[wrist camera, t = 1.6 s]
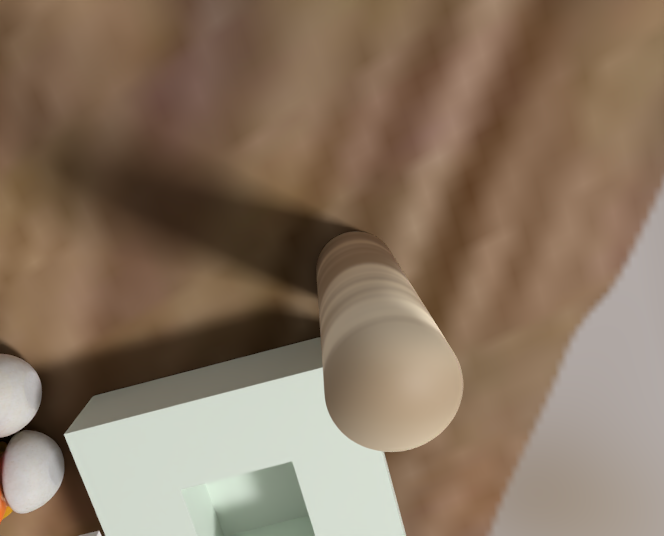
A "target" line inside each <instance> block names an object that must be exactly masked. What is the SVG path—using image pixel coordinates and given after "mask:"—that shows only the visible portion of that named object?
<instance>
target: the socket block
mask: <svg viewBox="0 0 664 536" xmlns="http://www.w3.org/2000/svg"><path fill="white" fill-rule="evenodd" d="M64 436H65V439H66V441H67V443H68V446H69V448H70V451H71V453H72V456H73V458H74V460H75V463H76V465H77V468H78V470H79V473H80V475H81V477H82V480H83V482H84V485H85V487H86V490H87V492H88V495H89V497H90V499H91V502H92V504H93V507H94V509H95V512H96V514H97V516H98V519H99V521H100V524H101V526H102V529H103V531H104V533H105V536H406V533H405V529H404V526H403V522H402V518H401V514H400V511H399V507H398V503H397V499H396V496H395V492H394V488H393V484H392V481H391V477H390V473H389V469H388V466H387V462H386V458H385V454H384V452H383V451H377V450H372V449H369V448H366V447H363V446H361V445H359V444H357V443H355V442H354V441H352V440H350V439H349V438H348V437H347V436H345V435H344V434H343V433H342V432H341V431H340V430H339V429H338V428H337V426H336V425H335V423H334V422H333V420H332V418H331V417H330V415H329V412H328V409H327V407H326V402H325V395H324V380H323V365H322V350H321V337H318V338H314V339H310V340H307V341H303V342H299V343H295V344H291V345H287V346H283V347H280V348H276V349H272V350H268V351H264V352H260V353H257V354H253V355H249V356H245V357H241V358H237V359H233V360H230V361H226V362H222V363H218V364H214V365H210V366H207V367H203V368H199V369H195V370H191V371H187V372H183V373H180V374H176V375H172V376H168V377H164V378H160V379H157V380H153V381H149V382H145V383H141V384H137V385H134V386H130V387H126V388H122V389H118V390H114V391H110V392H107V393H103V394H99V395H95V396H93V397H92V398H91V399H90V401H89V402H88V403H87V405H86V406H85V407H84V409H83V410H82V411H81V412H80V414H79V415H78V416H77V418H76V419H75V420H74V422H73V423H72V424H71V426H70V427H69V428H68V430H67V431H66V432H65V433H64Z"/></svg>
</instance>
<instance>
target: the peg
mask: <svg viewBox="0 0 664 536" xmlns="http://www.w3.org/2000/svg"><path fill="white" fill-rule="evenodd" d="M316 275H317V290H318V305H319V320H320V335H321V350H322V365H323V380H324V395H325V402H326V407H327V409H328V412H329V415H330V417H331V418H332V420H333V422H334V423H335V425H336V426H337V428H338V429H339V430H340V431H341V432H342V433H343V434H344V435H345V436H347V437H348V438H349V439H350V440H352V441H354V442H355V443H357V444H359V445H361V446H363V447H366V448H369V449H372V450H377V451H383V452H397V451H404V450H410V449H413V448H416V447H419V446H421V445H423V444H425V443H427V442H429V441H430V440H432V439H434V438H435V437H436V436H438V435H439V434H440V433H441V432H442V431H443V430H444V429H445V428H446V427H447V426H448V425H449V423H450V422H451V421H452V419H453V418H454V416H455V414H456V412H457V410H458V408H459V405H460V402H461V399H462V393H463V376H462V371H461V367H460V364H459V362H458V359H457V357H456V355H455V354H454V352H453V351H452V349H451V347H450V346H449V344H448V343H447V341H446V339H445V338H444V336H443V335H442V333H441V331H440V330H439V328H438V327H437V325H436V323H435V322H434V320H433V319H432V317H431V315H430V314H429V312H428V311H427V309H426V307H425V306H424V304H423V303H422V301H421V299H420V298H419V296H418V295H417V293H416V291H415V290H414V288H413V287H412V285H411V283H410V282H409V280H408V279H407V277H406V275H405V274H404V272H403V271H402V269H401V267H400V266H399V264H398V263H397V261H396V259H395V258H394V256H393V255H392V253H391V251H390V250H389V248H388V247H387V246H386V244H385V243H384V242H383V241H382V240H380V239H379V238H377V237H376V236H374V235H372V234H369V233H366V232H360V231H352V232H346V233H343V234H340V235H338V236H336V237H335V238H333V239H332V240H331V241H329V242H328V243H327V244H326V245H325V247H324V248H323V249H322V251H321V253H320V255H319V258H318V260H317V266H316Z"/></svg>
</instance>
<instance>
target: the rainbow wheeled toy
mask: <svg viewBox="0 0 664 536" xmlns="http://www.w3.org/2000/svg"><path fill="white" fill-rule="evenodd" d="M41 398H42V386H41V381H40V379H39V376H38V374H37V373H36V371H35V370H34V369H33V367H32V366H31V365H30V364H28V363H27V362H26V361H24V360H22V359H21V358H18V357H16V356H13V355H8V354H0V438H2V437H6V436H9V435H11V434H14V433H16V432H17V431H19V430H21V429H22V428H23V427H25V426H26V425H27V424H28V423H29V422H30V421H31V420H32V418H33V417H34V416H35V414H36V412H37V411H38V409H39V406H40V403H41ZM63 476H64V458H63V454H62V451H61V449H60V448H59V446H58V445H57V443H56V442H55V441H54V440H53V439H52V438H50V437H49V436H47V435H45V434H43V433H40V432H37V431H31V430H23V431H20V432H18V433H16V434H15V435H14V436H13V437H12V438H11V439H10V441H9V443H5V442H0V523H1V521H2V519H4V518H5V517H7V516H8V515H9V514H10V513H11V512H12V511H15V512H17V513H28V512H31V511H33V510H35V509H37V508H39V507H41V506H42V505H44V504H45V503H46V502H48V501H49V500H50V499H51V498H52V497H53V495H54V494H55V493H56V492H57V490H58V489H59V487H60V485H61V482H62V479H63Z"/></svg>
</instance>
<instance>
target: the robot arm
mask: <svg viewBox="0 0 664 536" xmlns="http://www.w3.org/2000/svg"><path fill="white" fill-rule="evenodd" d="M79 536H101V534H100V531H96V532H91V533H87V534H83V535H79Z"/></svg>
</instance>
